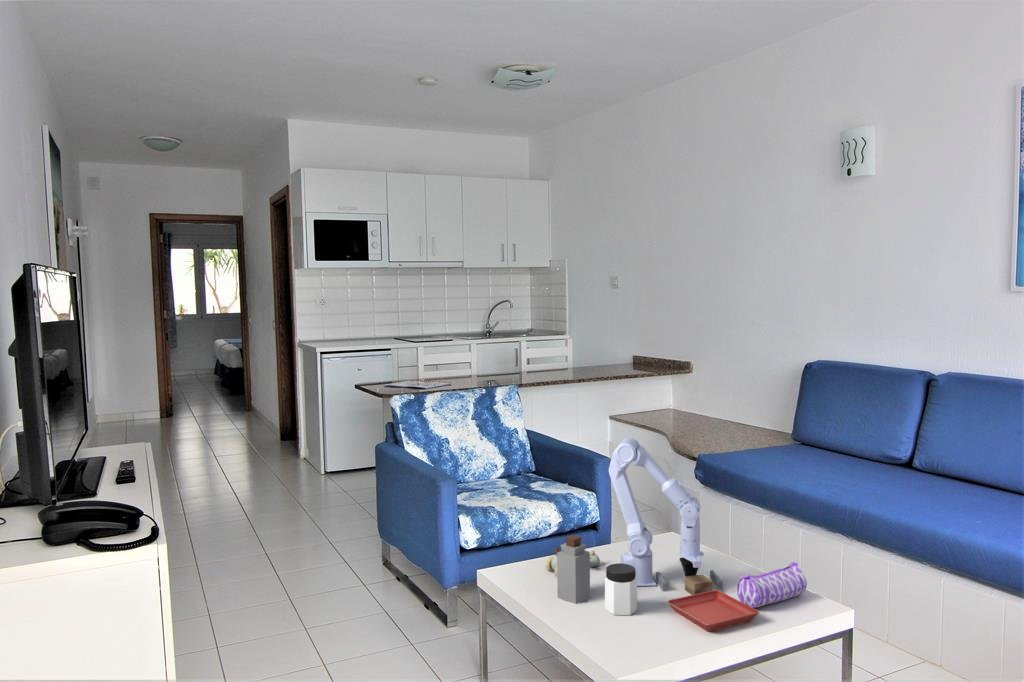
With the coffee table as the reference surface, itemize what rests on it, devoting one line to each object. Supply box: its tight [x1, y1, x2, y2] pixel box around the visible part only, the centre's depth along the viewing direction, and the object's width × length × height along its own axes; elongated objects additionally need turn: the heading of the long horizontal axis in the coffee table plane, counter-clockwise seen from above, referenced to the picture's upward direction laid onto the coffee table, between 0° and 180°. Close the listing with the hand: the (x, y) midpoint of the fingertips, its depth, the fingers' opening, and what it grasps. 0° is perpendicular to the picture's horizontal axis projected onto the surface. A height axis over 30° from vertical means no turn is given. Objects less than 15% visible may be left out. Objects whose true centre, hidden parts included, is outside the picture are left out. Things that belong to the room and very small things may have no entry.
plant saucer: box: [666, 589, 760, 632], centre depth 212 cm, size 18×18×3 cm
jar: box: [604, 562, 638, 617], centre depth 217 cm, size 9×8×12 cm
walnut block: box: [684, 573, 714, 596], centre depth 229 cm, size 6×6×4 cm
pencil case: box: [736, 561, 808, 609], centre depth 222 cm, size 22×9×10 cm, turn 123°
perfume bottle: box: [556, 534, 591, 605], centre depth 226 cm, size 7×7×18 cm
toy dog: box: [545, 546, 601, 577], centre depth 249 cm, size 12×19×9 cm, turn 140°
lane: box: [655, 569, 723, 592], centre depth 235 cm, size 18×9×2 cm, turn 93°
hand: (690, 582), depth 234 cm, fingers closed
